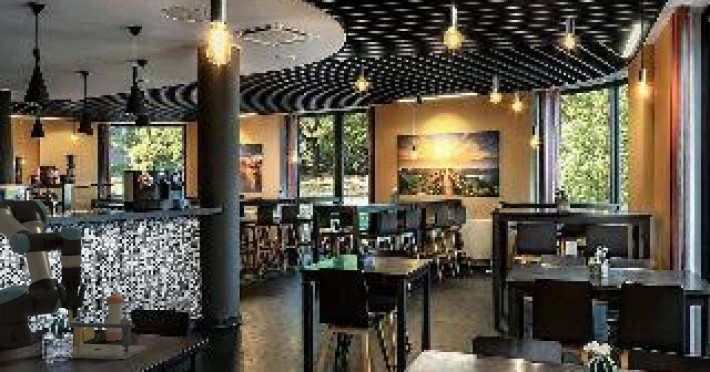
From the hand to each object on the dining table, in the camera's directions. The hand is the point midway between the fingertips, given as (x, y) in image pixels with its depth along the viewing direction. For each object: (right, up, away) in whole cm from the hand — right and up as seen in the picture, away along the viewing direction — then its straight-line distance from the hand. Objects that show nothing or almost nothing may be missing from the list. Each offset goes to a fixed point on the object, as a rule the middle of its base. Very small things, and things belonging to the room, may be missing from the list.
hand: (72, 326), depth 265 cm
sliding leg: (+6, -7, -4) cm, 10 cm away
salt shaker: (+11, -9, +16) cm, 22 cm away
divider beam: (+15, -7, -9) cm, 19 cm away
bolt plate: (+15, -9, -9) cm, 20 cm away
